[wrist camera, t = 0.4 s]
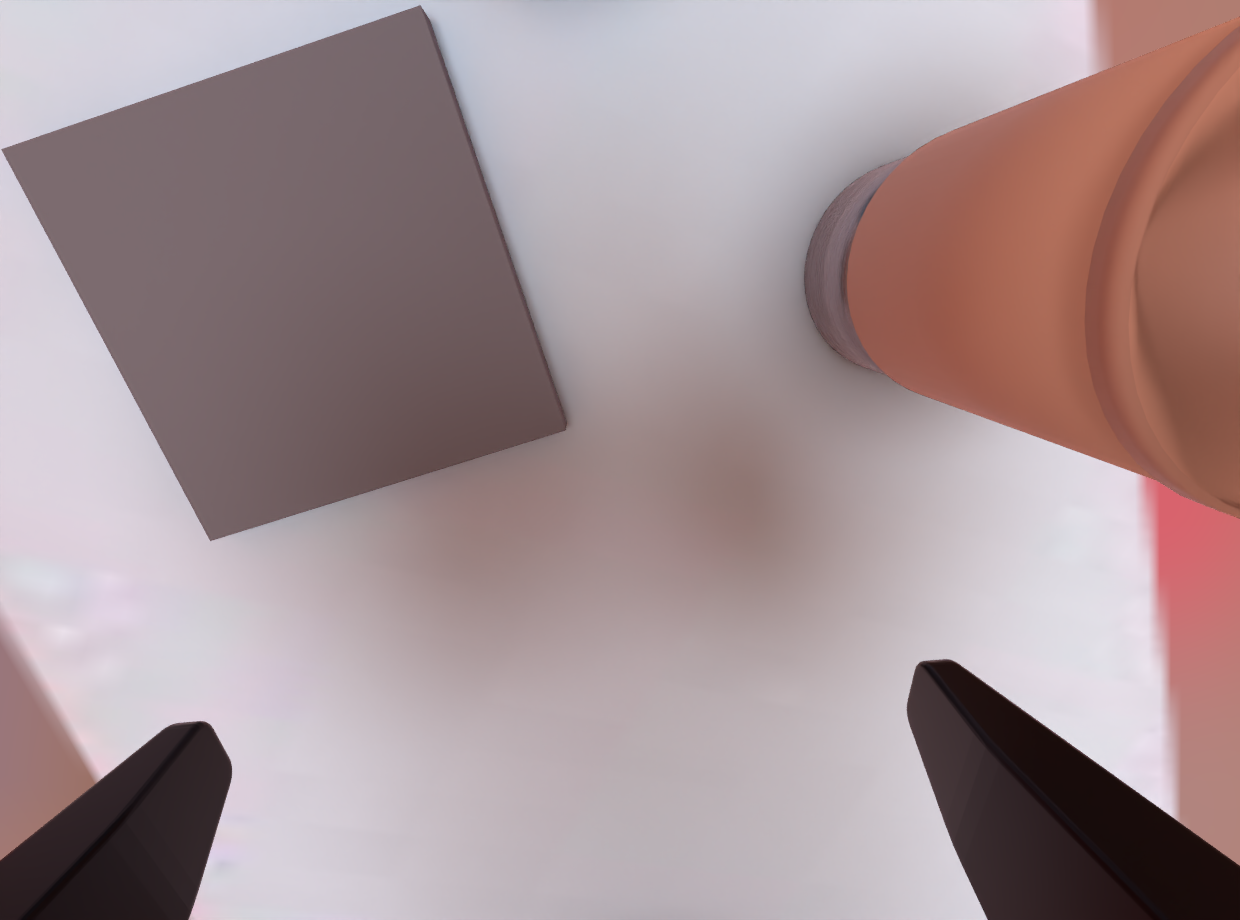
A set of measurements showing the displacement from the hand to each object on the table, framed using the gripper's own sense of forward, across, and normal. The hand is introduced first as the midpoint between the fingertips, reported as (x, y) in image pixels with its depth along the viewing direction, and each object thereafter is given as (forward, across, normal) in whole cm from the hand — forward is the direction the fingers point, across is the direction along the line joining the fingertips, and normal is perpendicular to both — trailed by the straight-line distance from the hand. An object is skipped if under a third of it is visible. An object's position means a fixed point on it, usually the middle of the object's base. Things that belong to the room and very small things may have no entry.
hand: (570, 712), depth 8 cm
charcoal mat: (+14, +8, -2) cm, 17 cm away
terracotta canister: (+11, -10, -2) cm, 15 cm away
